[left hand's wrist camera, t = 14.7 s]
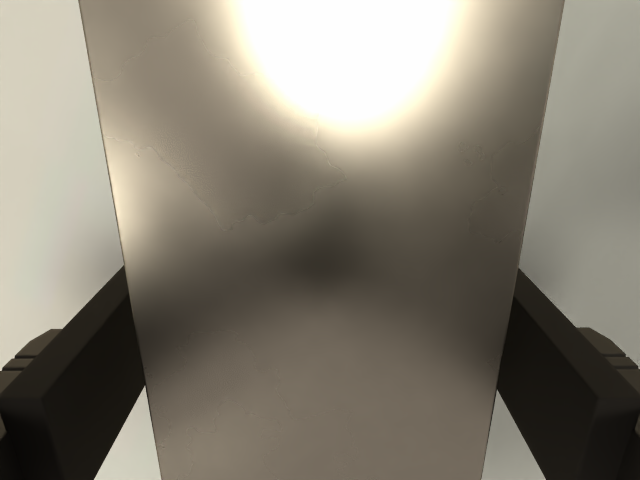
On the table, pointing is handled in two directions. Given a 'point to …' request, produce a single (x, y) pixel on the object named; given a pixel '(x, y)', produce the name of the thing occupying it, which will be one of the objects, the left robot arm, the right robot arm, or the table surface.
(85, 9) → the box
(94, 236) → the table surface
